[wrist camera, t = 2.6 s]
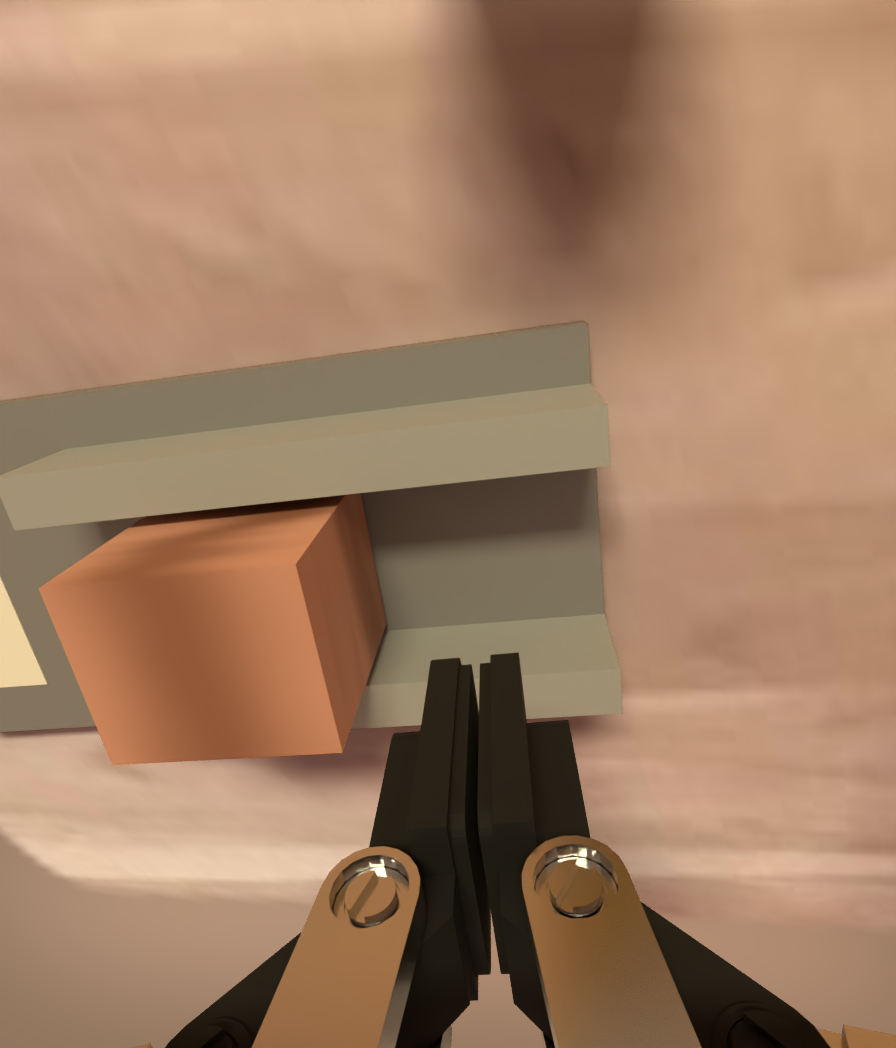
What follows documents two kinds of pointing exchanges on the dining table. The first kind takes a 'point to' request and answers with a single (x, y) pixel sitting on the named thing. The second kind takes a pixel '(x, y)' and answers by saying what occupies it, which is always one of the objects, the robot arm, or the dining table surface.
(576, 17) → the dining table surface
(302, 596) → the block
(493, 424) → the chute
